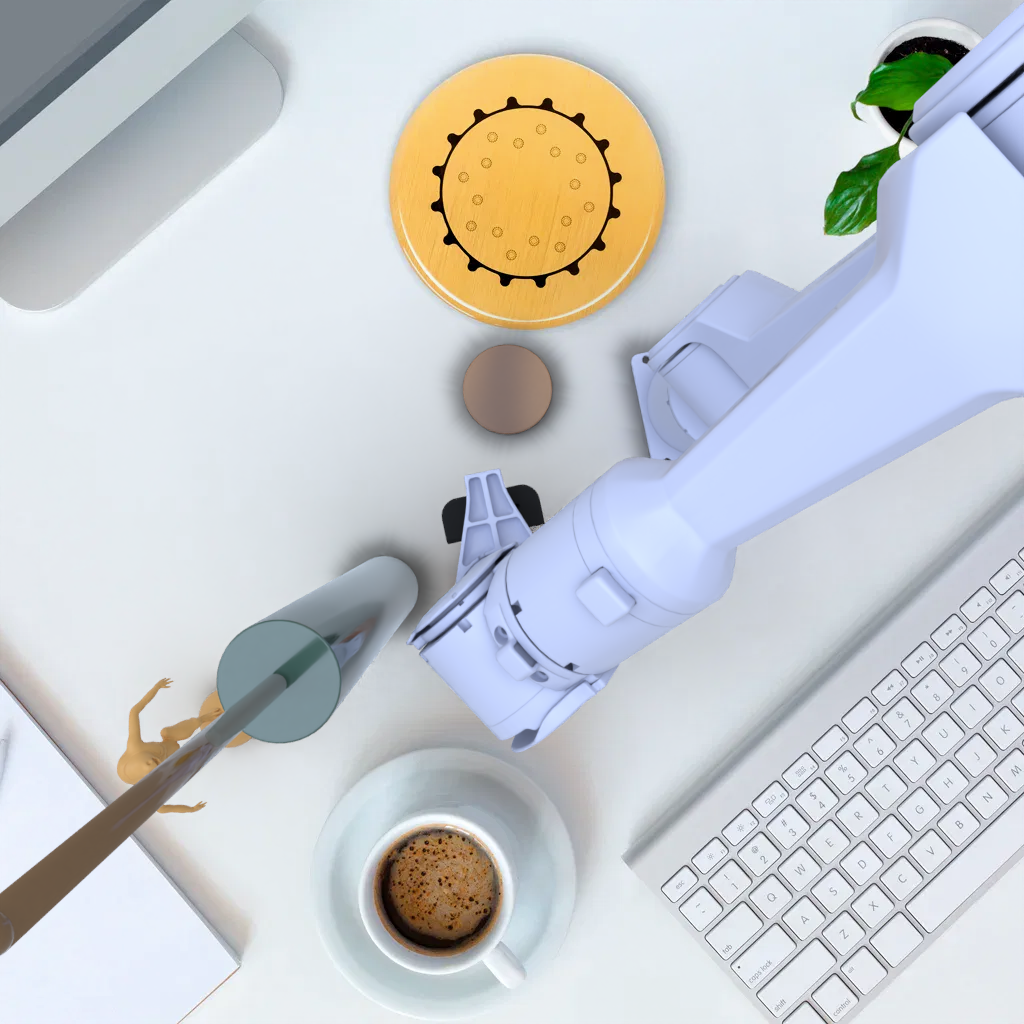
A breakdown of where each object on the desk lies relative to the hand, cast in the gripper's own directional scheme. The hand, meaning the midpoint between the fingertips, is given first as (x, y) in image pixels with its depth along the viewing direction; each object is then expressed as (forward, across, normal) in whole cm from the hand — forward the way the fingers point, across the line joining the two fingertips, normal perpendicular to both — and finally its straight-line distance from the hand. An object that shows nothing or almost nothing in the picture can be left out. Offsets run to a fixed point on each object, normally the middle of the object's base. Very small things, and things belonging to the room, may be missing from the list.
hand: (509, 585), depth 61 cm
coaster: (+4, -12, +3) cm, 14 cm away
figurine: (+5, +5, -21) cm, 22 cm away
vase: (+4, -1, -8) cm, 10 cm away
